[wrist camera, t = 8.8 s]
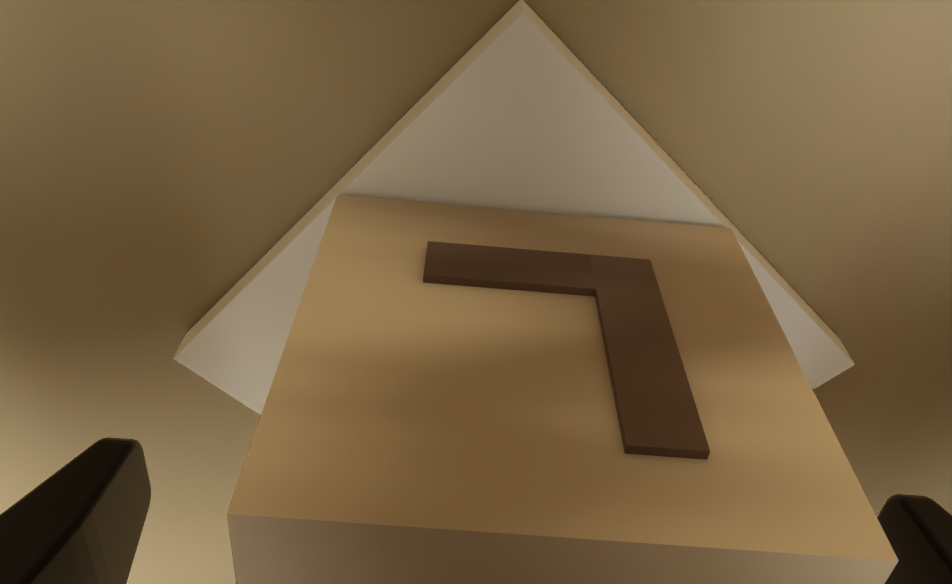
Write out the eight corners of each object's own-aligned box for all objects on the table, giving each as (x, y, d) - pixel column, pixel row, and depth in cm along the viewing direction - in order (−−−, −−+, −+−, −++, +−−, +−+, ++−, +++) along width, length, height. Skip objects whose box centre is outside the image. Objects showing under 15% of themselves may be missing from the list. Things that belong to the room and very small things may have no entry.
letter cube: (732, 220, 10) (909, 563, 6) (648, 493, 13) (724, 855, 9) (337, 187, 10) (220, 516, 6) (341, 471, 13) (266, 830, 8)
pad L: (839, 339, 12) (857, 369, 11) (504, 546, 15) (505, 578, 14) (521, -2, 9) (522, 15, 9) (185, 333, 12) (170, 362, 11)
